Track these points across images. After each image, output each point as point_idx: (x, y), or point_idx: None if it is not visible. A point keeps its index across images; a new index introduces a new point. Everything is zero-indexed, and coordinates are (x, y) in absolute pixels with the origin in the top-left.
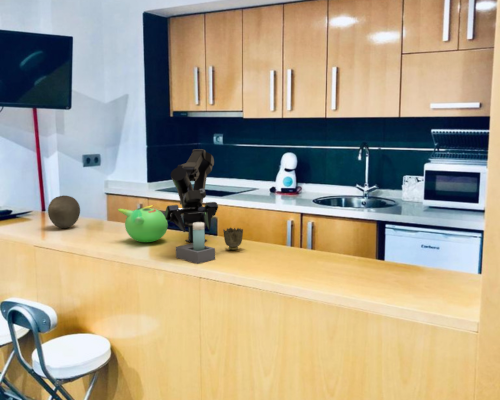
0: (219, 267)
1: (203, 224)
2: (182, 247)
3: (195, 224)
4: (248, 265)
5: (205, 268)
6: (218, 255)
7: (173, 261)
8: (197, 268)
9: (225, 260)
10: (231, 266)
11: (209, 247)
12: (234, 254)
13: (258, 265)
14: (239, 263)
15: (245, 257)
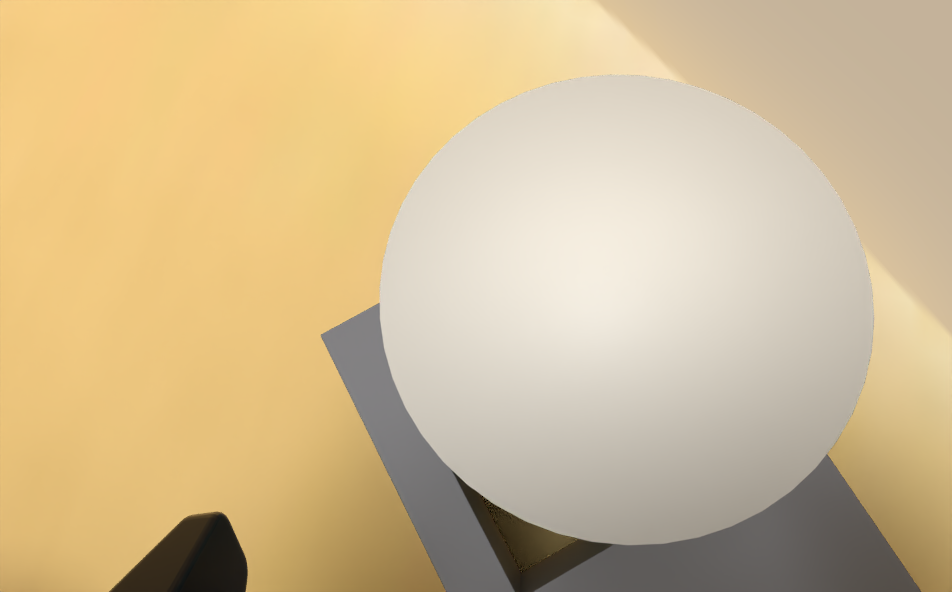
0: (411, 39)
1: (451, 155)
2: (847, 576)
3: (768, 129)
4: (118, 31)
5: (558, 41)
6: (264, 551)
7: (912, 439)
8: (642, 62)
9: (264, 279)
10: (285, 41)
11: (388, 409)
12: (56, 528)
13: (33, 7)
14: (169, 120)
15: (3, 336)
